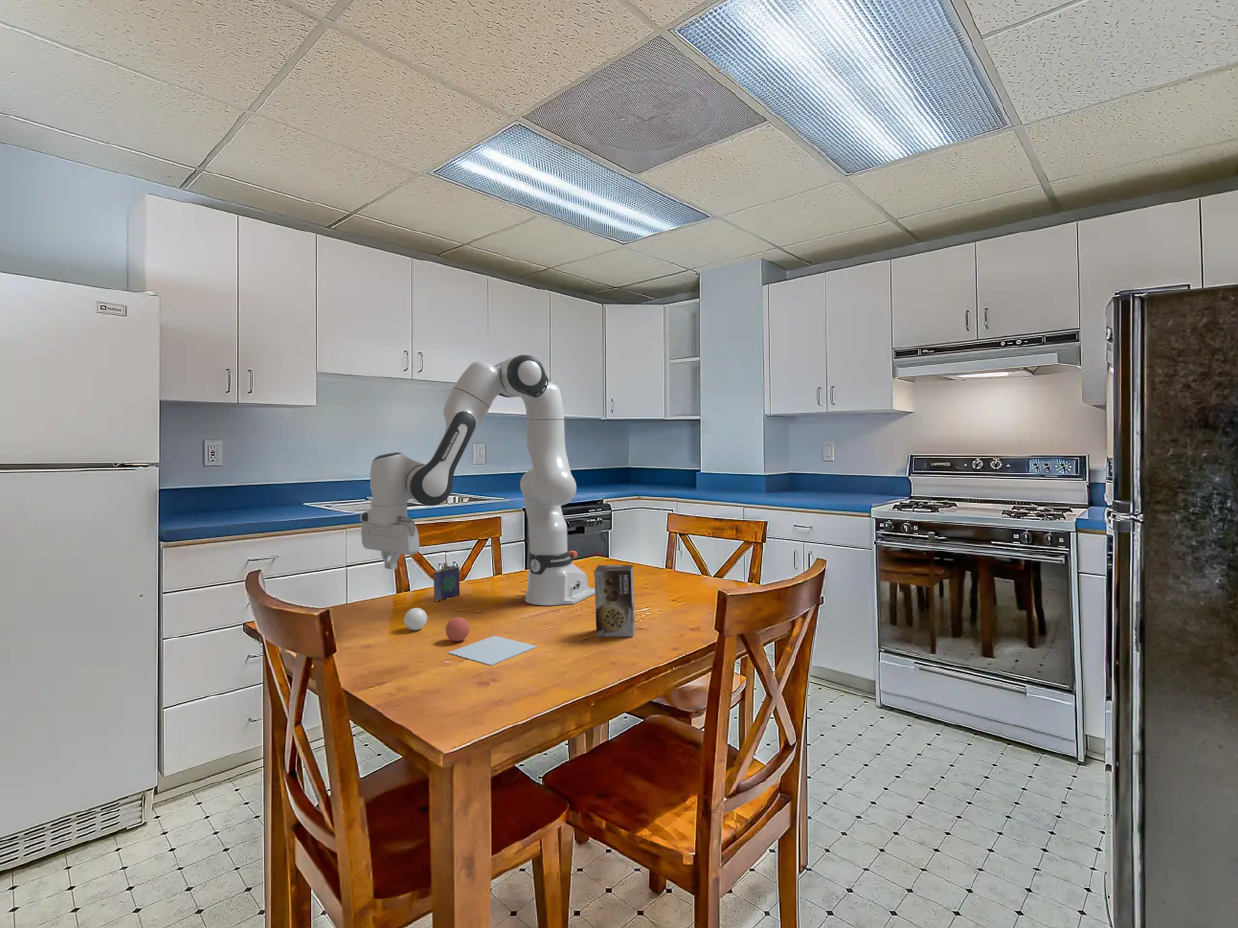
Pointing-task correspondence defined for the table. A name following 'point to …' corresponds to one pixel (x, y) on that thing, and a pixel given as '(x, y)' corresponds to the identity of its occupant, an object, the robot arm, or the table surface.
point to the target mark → (492, 650)
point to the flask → (446, 582)
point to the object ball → (457, 629)
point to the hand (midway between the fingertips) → (390, 568)
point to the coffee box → (614, 601)
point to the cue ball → (415, 619)
